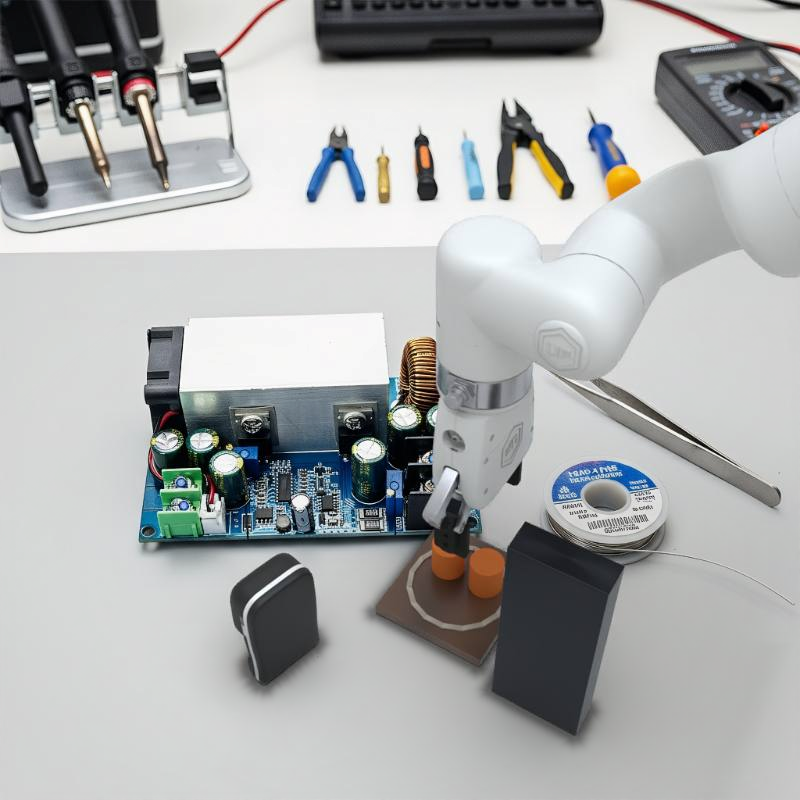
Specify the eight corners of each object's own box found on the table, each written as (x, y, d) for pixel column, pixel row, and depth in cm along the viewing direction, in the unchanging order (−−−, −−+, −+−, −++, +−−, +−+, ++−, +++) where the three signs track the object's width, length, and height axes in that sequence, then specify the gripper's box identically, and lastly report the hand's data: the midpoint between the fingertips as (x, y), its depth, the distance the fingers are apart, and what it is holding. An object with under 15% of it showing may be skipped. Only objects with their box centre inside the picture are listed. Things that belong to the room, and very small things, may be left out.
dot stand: (590, 708, 85) (625, 565, 71) (575, 736, 83) (608, 595, 69) (507, 665, 88) (525, 520, 74) (491, 691, 86) (506, 547, 72)
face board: (539, 573, 95) (540, 566, 94) (479, 667, 88) (479, 660, 87) (440, 527, 99) (440, 519, 99) (375, 612, 92) (374, 605, 91)
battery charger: (296, 615, 92) (285, 538, 84) (323, 641, 90) (315, 563, 82) (236, 662, 88) (219, 585, 81) (262, 689, 86) (248, 613, 79)
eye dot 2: (508, 580, 93) (510, 557, 91) (492, 604, 92) (494, 581, 89) (478, 565, 95) (480, 542, 92) (461, 589, 93) (463, 566, 90)
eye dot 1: (471, 562, 95) (472, 539, 93) (454, 585, 93) (455, 562, 91) (442, 548, 96) (443, 525, 94) (425, 570, 94) (425, 547, 92)
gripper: (473, 455, 70) (468, 599, 82) (575, 323, 81) (558, 468, 93) (384, 418, 73) (391, 562, 85) (493, 296, 84) (487, 439, 96)
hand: (478, 513), depth 89 cm, fingers open, 9 cm apart
